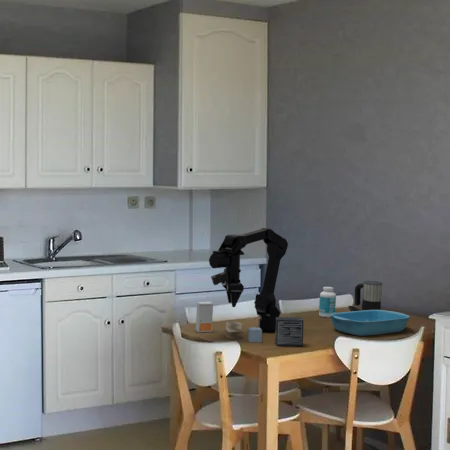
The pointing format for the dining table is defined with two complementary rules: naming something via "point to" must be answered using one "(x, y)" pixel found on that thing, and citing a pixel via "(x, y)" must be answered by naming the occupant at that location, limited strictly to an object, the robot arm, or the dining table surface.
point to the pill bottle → (327, 302)
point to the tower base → (234, 335)
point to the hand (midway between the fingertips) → (231, 304)
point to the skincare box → (204, 317)
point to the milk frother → (368, 296)
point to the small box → (289, 331)
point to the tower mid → (233, 327)
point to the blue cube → (255, 334)
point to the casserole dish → (369, 322)
